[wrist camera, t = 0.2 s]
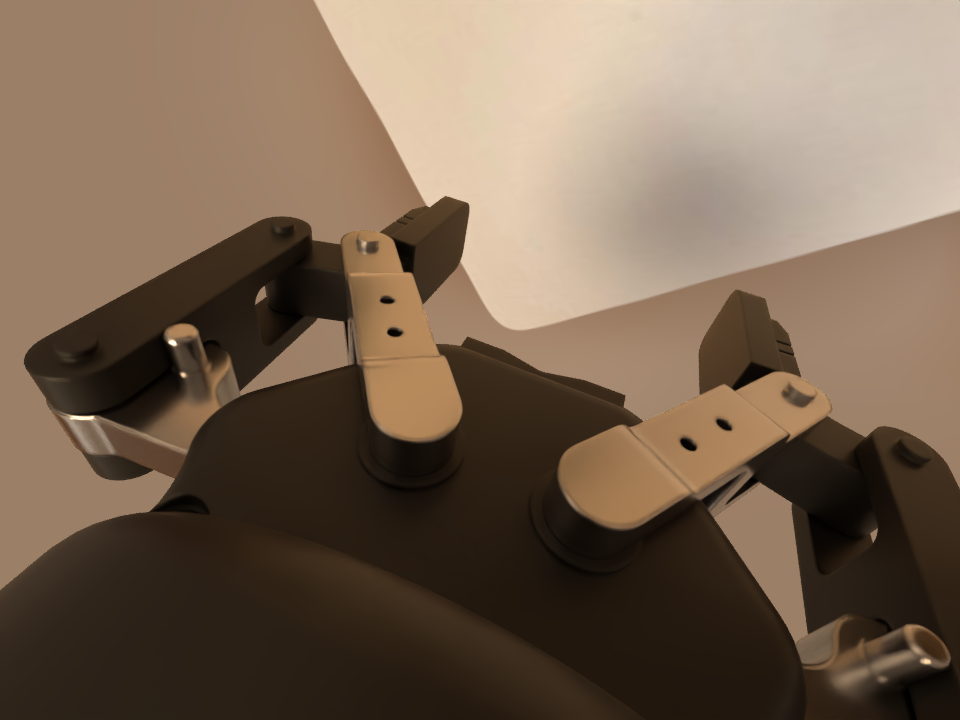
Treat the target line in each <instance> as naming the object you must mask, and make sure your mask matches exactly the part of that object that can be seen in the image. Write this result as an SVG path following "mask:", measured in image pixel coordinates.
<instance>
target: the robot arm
mask: <svg viewBox="0 0 960 720" xmlns="http://www.w3.org/2000/svg"><path fill="white" fill-rule="evenodd" d="M468 217H469V204H468V203H466V202H463V201H460V200H457V199H454V198H450V197H447V196H445V197H443V198H442V199H440V200H439V201H438V202H436V203H435V204H434V205H432V206H431V207H427V206H424V207H421V208H417V209H413V210H411V211H409V212H408V213H407V214H405V215H404V216H403V217H401V218H399V219H398V220H397V221H396V222H394V223H392V224H391V225H389V226H388V227H387V228H385V229H384V230H382V231H381V232H375V231H365V230H363V231H354V232H350V233H348V234H346V235H344V236H343V237H342V238H341V244H333V243H326V242H321V241H314V240H312V231H311V227H310V225H309V224H308V223H306V222H305V221H303V220H300V219H297V218H292V217H271V218H266V219H263V220H261V221H259V222H257V223H255V224H253V225H251V226H249V227H247V228H246V229H244V230H242V231H240V232H238V233H236V234H235V235H233V236H231V237H229V238H227V239H225V240H224V241H222V242H220V243H218V244H216V245H214V246H213V247H211V248H209V249H207V250H205V251H203V252H202V253H200V254H198V255H196V256H194V257H192V258H190V259H189V260H187V261H185V262H183V263H181V264H179V265H177V266H176V267H174V268H172V269H170V270H168V271H167V272H165V273H163V274H161V275H159V276H157V277H156V278H154V279H152V280H150V281H148V282H146V283H144V284H143V285H141V286H139V287H137V288H135V289H133V290H131V291H130V292H128V293H126V294H124V295H122V296H120V297H119V298H117V299H115V300H113V301H111V302H109V303H107V304H106V305H104V306H102V307H100V308H98V309H96V310H95V311H93V312H91V313H89V314H87V315H85V316H84V317H82V318H80V319H78V320H76V321H74V322H73V323H71V324H69V325H67V326H65V327H63V328H61V329H60V330H58V331H56V332H54V333H52V334H50V335H49V336H47V337H45V338H43V339H42V340H40V341H38V342H37V343H36V344H34V345H33V346H32V347H31V348H30V349H29V350H28V352H27V353H26V355H25V358H24V365H25V367H26V369H27V371H28V372H29V374H30V375H31V377H32V378H33V380H34V381H35V383H36V384H37V386H38V387H39V389H40V390H41V392H42V393H43V395H44V396H45V398H46V402H47V405H48V407H49V409H50V410H51V411H52V413H53V415H54V416H55V417H56V419H57V421H58V422H59V424H60V425H61V426H62V428H63V429H64V431H65V432H66V434H67V435H68V437H69V438H70V440H71V441H72V443H73V444H74V446H75V447H76V448H77V449H79V450H80V451H81V452H82V453H83V455H84V456H85V458H86V459H87V461H88V462H89V464H90V465H91V467H92V468H93V470H94V471H95V472H96V474H98V475H99V476H101V477H103V478H105V479H109V480H127V479H133V478H136V477H140V476H142V475H145V474H147V473H149V472H151V471H153V470H155V471H158V472H160V473H163V474H165V475H168V476H170V477H173V478H175V480H174V482H173V483H172V485H171V487H170V488H169V490H168V491H167V492H166V494H165V495H164V496H163V498H162V499H161V500H160V502H159V503H158V504H157V505H156V506H155V507H154V508H153V509H152V510H151V511H150V512H146V513H136V514H130V515H124V516H120V517H116V518H112V519H109V520H106V521H102V522H99V523H96V524H93V525H91V526H89V527H87V528H84V529H82V530H80V531H78V532H76V533H74V534H73V535H71V536H69V537H68V538H66V539H65V540H63V541H61V542H60V543H58V544H57V545H55V546H53V547H52V548H51V549H49V550H48V551H47V552H46V553H44V554H43V555H42V556H41V557H40V558H39V559H37V560H36V561H35V562H33V564H31V565H30V566H29V567H27V568H26V569H25V570H24V571H23V572H22V573H21V574H19V575H18V576H17V577H16V578H14V579H13V580H12V581H11V582H10V583H9V584H7V585H6V586H5V587H4V588H2V589H1V590H0V720H960V489H959V487H958V485H957V483H956V481H955V478H954V477H953V474H952V472H951V470H950V469H949V467H948V465H947V463H946V462H945V461H944V459H943V458H942V457H941V456H940V455H939V454H938V453H937V452H936V451H935V450H934V449H932V448H931V447H930V446H928V445H927V444H926V443H924V442H923V441H921V440H920V439H918V438H916V437H915V436H913V435H911V434H909V433H907V432H904V431H902V430H899V429H896V428H892V427H886V426H882V427H878V428H876V429H875V430H874V431H873V432H871V433H870V434H869V435H868V436H867V437H864V436H862V435H860V434H858V433H856V432H854V431H853V430H851V429H849V428H847V427H845V426H843V425H842V424H840V423H838V422H836V421H834V420H833V419H831V418H830V417H828V415H829V414H830V413H831V412H832V405H831V402H830V400H829V399H828V397H827V396H826V395H825V394H824V393H823V392H822V391H821V390H820V389H819V388H818V387H816V386H815V385H813V384H812V383H810V382H809V381H807V380H805V379H803V378H801V375H800V372H799V368H798V365H797V362H796V359H795V357H794V352H793V349H792V347H791V342H790V339H789V335H788V333H787V332H786V331H785V330H784V329H783V328H782V326H781V325H780V324H779V323H778V322H777V321H775V320H772V319H771V318H770V315H769V311H768V307H767V303H766V300H765V298H762V297H759V296H756V295H753V294H749V293H746V292H743V291H740V290H735V291H734V292H733V293H732V294H731V295H730V297H729V298H728V300H727V301H726V303H725V305H724V306H723V308H722V309H721V311H720V312H719V314H718V315H717V317H716V319H715V320H714V322H713V324H712V325H711V327H710V328H709V330H708V331H707V333H706V335H705V337H704V338H703V341H702V343H701V346H700V349H699V387H700V395H699V396H697V397H695V398H693V399H691V400H688V401H687V402H684V403H682V404H680V405H678V406H676V407H674V408H671V409H669V410H667V411H665V412H663V413H661V414H659V415H657V416H655V417H652V418H650V419H648V420H646V421H644V422H643V421H642V420H641V419H640V418H638V417H637V416H636V415H634V414H633V413H631V412H630V411H629V410H627V409H625V408H624V407H623V406H624V401H625V395H623V394H620V393H618V392H615V391H612V390H610V389H607V388H604V387H601V386H599V385H596V384H593V383H591V382H588V381H585V380H581V379H575V378H570V377H565V376H560V375H555V374H550V373H545V372H542V371H539V370H537V369H535V368H534V367H532V366H530V365H529V364H527V363H525V362H523V361H522V360H520V359H518V358H516V357H515V356H513V355H511V354H510V353H508V352H506V351H505V350H502V349H499V348H497V347H494V346H491V345H489V344H485V343H483V342H480V341H478V340H475V339H472V338H470V337H467V338H466V340H465V341H464V342H463V344H462V345H461V346H457V345H449V344H436V343H435V340H434V337H433V334H432V331H431V328H430V325H429V322H428V319H427V316H426V313H425V310H424V307H423V304H424V303H425V302H426V301H427V300H428V299H429V297H430V296H431V295H432V294H433V293H434V292H435V291H436V290H437V289H438V288H439V287H440V286H441V284H442V283H443V282H444V281H445V280H446V279H447V278H448V277H449V276H450V275H451V274H452V273H453V272H454V270H455V269H456V268H457V267H458V265H459V263H460V260H461V257H462V254H463V249H464V242H465V236H466V230H467V223H468ZM263 286H265V290H266V296H267V297H266V298H264V299H263V300H262V301H260V302H259V303H258V304H256V305H255V300H256V296H257V294H258V292H259V291H260V289H261V288H262V287H263ZM317 318H323V319H330V320H337V321H344V333H345V342H346V350H347V359H348V366H344V367H341V368H337V369H333V370H330V371H326V372H322V373H319V374H315V375H312V376H308V377H304V378H300V379H296V380H293V381H289V382H285V383H282V384H278V385H274V386H271V387H267V388H263V389H260V390H256V391H253V392H250V393H247V394H245V395H242V396H240V391H241V390H242V389H243V388H244V387H245V386H246V385H247V384H248V383H249V382H251V381H252V380H253V379H254V378H255V377H256V376H257V375H258V374H259V373H260V372H261V371H262V370H263V369H265V367H267V366H268V365H269V364H270V363H271V362H272V361H273V360H274V359H275V358H276V357H277V356H279V355H280V354H281V353H282V352H283V351H284V350H285V349H286V348H287V347H288V346H289V345H290V344H292V343H293V342H294V341H295V340H296V339H297V338H298V337H299V336H300V335H301V334H302V333H303V332H304V331H305V330H306V329H308V328H309V327H310V326H311V325H312V324H313V323H314V322H315V321H316V320H317ZM760 483H762V484H763V485H765V486H766V487H768V488H770V489H771V490H773V491H774V492H776V493H778V494H779V495H781V496H782V497H784V498H785V499H787V500H789V501H790V502H792V515H793V523H794V530H795V538H796V545H797V554H798V561H799V568H800V576H801V585H802V592H803V600H804V607H805V615H806V623H807V631H808V635H807V636H805V637H803V638H801V639H800V640H799V641H798V642H797V643H796V644H795V642H794V640H793V638H792V636H791V634H790V632H789V630H788V628H787V626H786V624H785V623H784V621H783V620H782V618H781V616H780V615H779V613H778V612H777V610H776V609H775V607H774V606H773V604H772V603H771V601H770V600H769V599H768V597H767V596H766V594H765V593H764V591H763V590H762V588H761V587H760V585H759V584H758V582H757V581H756V579H755V578H754V577H753V575H752V574H751V572H750V571H749V569H748V568H747V566H746V565H745V563H744V562H743V561H742V559H741V557H740V556H739V555H738V553H737V552H736V550H735V549H734V547H733V546H732V544H731V543H730V541H729V540H728V538H727V537H726V535H725V534H724V532H723V531H722V530H721V528H720V527H719V525H718V524H717V522H716V521H715V519H714V517H715V516H716V515H718V514H719V513H720V512H722V511H723V510H724V509H726V508H727V507H729V506H730V505H731V504H733V503H734V502H736V501H737V500H739V499H740V498H741V497H743V496H744V495H746V494H747V493H748V492H750V491H751V490H753V489H754V488H755V487H757V486H758V485H759V484H760ZM877 528H878V532H877V537H876V539H875V541H874V543H873V542H872V539H871V535H870V533H871V532H873V531H874V530H876V529H877Z"/></svg>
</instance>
